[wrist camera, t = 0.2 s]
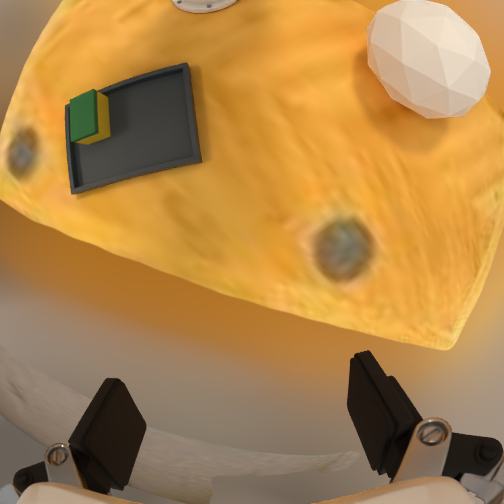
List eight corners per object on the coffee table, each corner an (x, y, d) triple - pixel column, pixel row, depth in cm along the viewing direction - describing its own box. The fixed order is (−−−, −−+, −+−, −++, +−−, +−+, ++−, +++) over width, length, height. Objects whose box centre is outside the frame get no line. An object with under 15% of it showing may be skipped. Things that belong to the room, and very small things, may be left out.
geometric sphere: (373, 104, 41) (357, 109, 27) (370, 10, 30) (350, -32, 16) (467, 128, 33) (502, 148, 19) (468, 30, 21) (499, 1, 7)
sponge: (85, 106, 33) (69, 99, 28) (108, 97, 33) (93, 88, 28) (87, 145, 35) (70, 141, 30) (110, 136, 35) (95, 132, 30)
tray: (71, 107, 33) (64, 105, 31) (189, 67, 33) (187, 62, 31) (78, 193, 37) (71, 194, 35) (202, 162, 37) (199, 161, 35)
